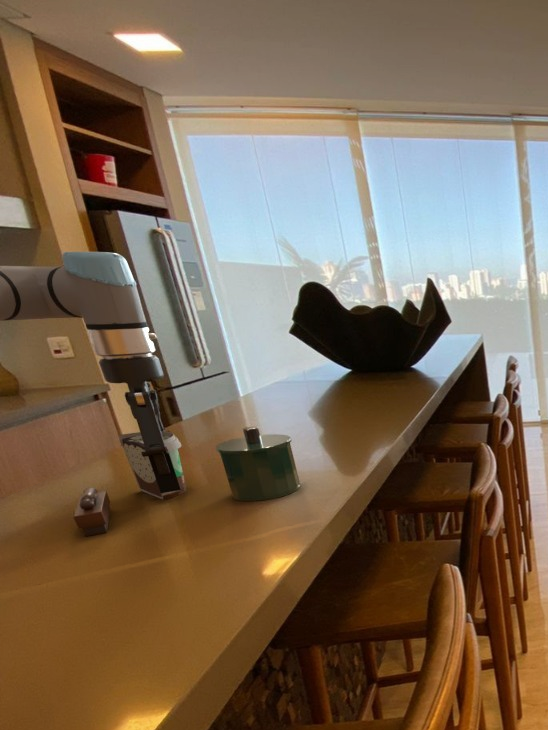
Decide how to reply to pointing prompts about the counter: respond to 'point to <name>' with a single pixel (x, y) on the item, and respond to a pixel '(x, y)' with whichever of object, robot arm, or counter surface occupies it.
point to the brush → (93, 512)
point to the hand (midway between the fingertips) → (170, 482)
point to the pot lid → (253, 442)
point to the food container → (143, 466)
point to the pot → (261, 474)
